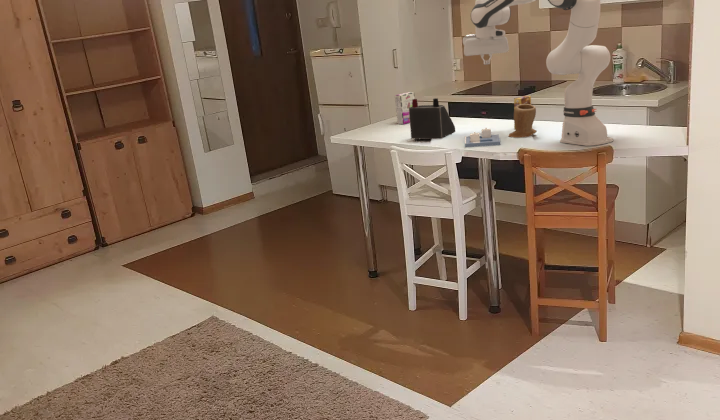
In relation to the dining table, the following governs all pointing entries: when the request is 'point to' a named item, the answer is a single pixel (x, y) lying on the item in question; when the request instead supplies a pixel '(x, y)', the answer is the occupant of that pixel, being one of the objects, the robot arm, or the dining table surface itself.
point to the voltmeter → (429, 121)
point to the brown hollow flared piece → (524, 120)
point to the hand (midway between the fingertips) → (486, 64)
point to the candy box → (521, 102)
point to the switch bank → (483, 141)
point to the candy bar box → (403, 107)
